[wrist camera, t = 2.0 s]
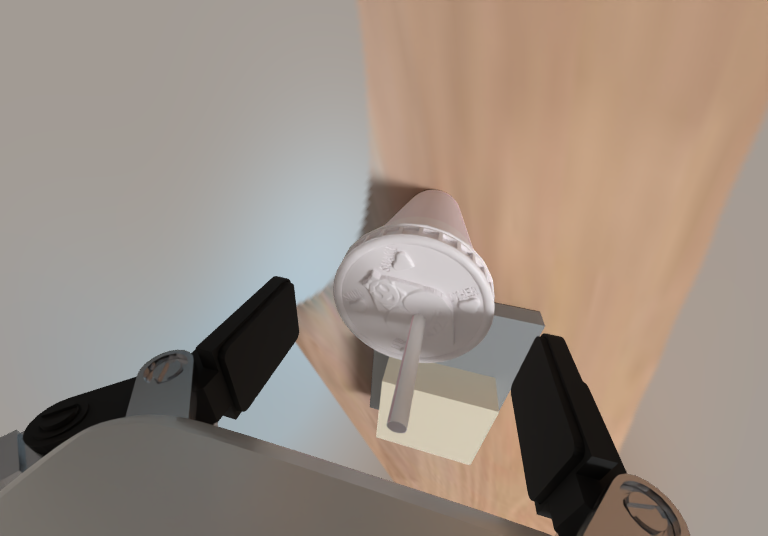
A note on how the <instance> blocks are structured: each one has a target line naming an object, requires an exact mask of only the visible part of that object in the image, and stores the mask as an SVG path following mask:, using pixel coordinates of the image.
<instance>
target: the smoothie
mask: <svg viewBox="0 0 768 536" xmlns="http://www.w3.org/2000/svg"><path fill="white" fill-rule="evenodd" d="M333 293H334V300H335V304H336V307H337V310H338V312H339V314H340V316H341V318H342V320H343V321H344V323H345V324H346V326H347V327H348V328H349V329H350V331H351V332H352V333H353V334H354V335H355V336H356V337H357V338H359V339H360V340H361V341H362V342H363V343H365V344H366V345H368V346H369V347H371V348H373V349H374V350H376V351H378V352H380V353H382V354H384V355H387V356H389V357H392V358H395V359H399V360H402V361H401V365H400V369H399V374H398V378H397V382H396V386H395V390H394V395H393V399H392V403H391V407H390V412H389V416H388V420H387V424H386V425H387V427H388V429H390V430H391V431H393V432H395V433H405V432H406V431H407V427H408V421H409V416H410V410H411V404H412V398H413V392H414V386H415V381H416V375H417V369H418V363H434V362H443V361H446V360H450V359H454V358H456V357H459V356H461V355H463V354H465V353H467V352H469V351H470V350H472V349H473V348H474V347H476V346H477V345H478V344H479V343H480V342H481V341H482V340H483V339H484V337H485V336H486V335H487V333H488V331H489V330H490V327H491V325H492V322H493V318H494V312H495V304H494V298H495V297H494V287H493V279H492V277H491V275H490V273H489V270H488V268H487V266H486V264H485V262H484V260H483V259H482V258H481V257H480V256H479V255H478V254H477V253H476V252H475V250H474V249H473V247H472V244H471V241H470V238H469V235H468V232H467V229H466V226H465V223H464V220H463V217H462V214H461V211H460V208H459V206H458V204H457V202H456V201H455V199H454V198H453V197H452V196H450V195H449V194H447V193H445V192H443V191H440V190H426V191H423V192H420V193H419V194H417V195H416V196H414V197H413V198H412V199H411V200H410V201H409V202H408V203H407V204H406V205H405V206H404V207H403V208H402V209H401V210H400V211H399V212H398V213H396V214H395V215H394V216H393V217H392V218H391V219H390V220H389V221H388V222H387V223H386V224H385V225H384V226H381V227H379V228H377V229H375V230H373V231H371V232H369V233H367V234H365V235H363V236H362V237H361V238H360V239H359V240H357V241H356V242H355V243H354V244H353V245H352V246H351V247H350V248H349V250H348V252H347V253H346V255H345V257H344V259H343V261H342V263H341V265H340V266H339V268H338V270H337V273H336V275H335V279H334V286H333Z"/></svg>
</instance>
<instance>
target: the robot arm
mask: <svg viewBox="0 0 768 536" xmlns="http://www.w3.org/2000/svg"><path fill="white" fill-rule="evenodd" d="M298 335H299V326H298V317H297V309H296V300H295V291H294V285H293V284H292V283H291V282H290V280H289V279H287V278H282V277H277V276H275V277H273V278H272V279H270V280H269V281H268V282H267V283H266V284H265V285H264V286H263V287H262V288H261V289H259V290H258V291H257V292H256V293H255V294H254V295H253V296H252V297H251V298H250V299H249V300H247V301H246V302H245V303H244V304H243V305H242V306H241V307H240V308H239V309H237V310H236V311H235V312H234V313H233V314H232V315H231V316H230V317H229V318H228V319H227V320H225V321H224V322H223V323H222V324H221V325H220V326H219V327H218V328H217V329H216V330H214V331H213V332H212V333H211V334H210V335H209V336H208V337H207V338H206V339H205V340H203V341H202V342H201V343H200V344H199V345H198V346H197V347H196V349H195V350H194V351H193V352H192V353H190V352H187V351H185V350H173V351H168V352H165V353H162V354H160V355H158V356H156V357H154V358H153V359H151V360H150V361H148V362H147V363H146V364H145V365H144V366H143V367H142V368H141V369H140V371H139V373H138V375H137V377H134V378H131V379H128V380H125V381H122V382H118V383H115V384H112V385H109V386H106V387H103V388H100V389H96V390H93V391H90V392H87V393H84V394H81V395H77V396H74V397H71V398H68V399H66V400H63V401H60V402H58V403H56V404H55V405H53V406H51V407H49V408H47V409H46V410H45V411H43V412H42V413H40V414H39V415H38V416H37V417H36V418H35V419H34V420H33V421H32V422H31V423H30V424H29V425H28V427H27V428H26V430H25V431H23V432H21V433H20V432H19V431H17V430H15V431H13V432H11V433H9V434H7V435H5V436H3V437H0V536H551V535H549V534H546V533H544V532H541V531H538V530H535V529H532V528H529V527H527V526H524V525H521V524H518V523H515V522H512V521H509V520H506V519H503V518H501V517H498V516H495V515H492V514H489V513H486V512H483V511H480V510H477V509H474V508H471V507H468V506H465V505H462V504H459V503H456V502H453V501H450V500H447V499H444V498H440V497H437V496H434V495H431V494H428V493H425V492H422V491H419V490H416V489H413V488H410V487H407V486H404V485H401V484H398V483H395V482H391V481H388V480H385V479H382V478H379V477H376V476H373V475H369V474H366V473H364V472H360V471H357V470H354V469H351V468H348V467H345V466H342V465H339V464H336V463H332V462H329V461H326V460H323V459H320V458H317V457H314V456H311V455H307V454H304V453H301V452H298V451H295V450H291V449H288V448H285V447H282V446H279V445H276V444H273V443H269V442H266V441H263V440H260V439H257V438H254V437H251V436H247V435H244V434H241V433H238V432H234V431H231V430H227V429H224V428H221V427H218V421H219V420H220V419H221V417H222V416H226V417H229V418H232V419H237V418H238V416H239V415H240V413H241V412H242V411H243V412H244V411H246V410H247V409H248V408H249V407H250V405H251V404H252V402H253V401H254V399H255V398H256V397H257V395H258V394H259V392H260V391H261V390H262V388H263V387H264V385H265V384H266V383H267V381H268V380H269V378H270V377H271V375H272V374H273V372H274V371H275V370H276V368H277V367H278V365H279V364H280V363H281V361H282V360H283V358H284V357H285V356H286V354H287V353H288V351H289V350H290V348H291V347H292V345H293V344H294V343H295V341H296V340H297V338H298ZM511 396H512V402H513V408H514V414H515V420H516V426H517V432H518V437H519V443H520V449H521V455H522V461H523V467H524V473H525V479H526V485H527V491H528V495H529V498H530V499H531V500H532V501H535V506H536V512H537V514H538V515H541V516H544V517H547V518H551V519H552V522H553V526H554V530H555V531H556V532H557V533H556V534H555V536H690V533H689V530H688V527H687V524H686V522H685V520H684V519H683V517H682V515H681V513H680V512H679V510H678V509H677V508H676V506H675V505H674V504H673V503H672V502H671V500H670V499H669V498H668V497H667V496H666V495H665V494H663V493H662V492H661V491H660V490H659V489H658V488H656V487H655V486H654V485H652V484H651V483H649V482H648V481H646V480H644V479H642V478H640V477H638V476H636V475H631V474H627V473H626V470H625V468H624V466H623V463H622V461H621V459H620V457H619V454H618V452H617V450H616V448H615V446H614V443H613V441H612V439H611V437H610V434H609V432H608V430H607V428H606V425H605V423H604V421H603V419H602V416H601V414H600V412H599V410H598V407H597V405H596V403H595V401H594V399H593V396H592V394H591V392H590V390H589V388H588V386H587V384H586V383H584V382H583V381H582V379H581V377H580V374H579V372H578V370H577V367H576V365H575V363H574V361H573V358H572V356H571V354H570V351H569V349H568V347H567V344H566V342H565V340H564V338H562V337H559V336H555V335H550V334H542V335H541V337H539V336H537V337H536V338H535V339H534V341H533V343H532V345H531V347H530V349H529V351H528V353H527V355H526V357H525V359H524V361H523V363H522V365H521V367H520V369H519V371H518V373H517V375H516V377H515V379H514V381H513V383H512V386H511Z"/></svg>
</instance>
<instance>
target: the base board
mask: <svg viewBox="0 0 768 536" xmlns="http://www.w3.org/2000/svg"><path fill="white" fill-rule="evenodd" d="M494 304H495V312H494V318H493V322H492V325H491V327H490V330H489V331H488V333H487V335H486V336H485V337H484V339H483V340H482V341H481V342H480V343H479V344H478V345H477V346H476V347H474V348H473V349H472V350H470V351H469V352H467V353H465V354H463V355H461V356H459V357H456V358H454V359H450V360H446V361H443V362H434V363H418V369H417V375H416V381H415V386H414V392H413V398H412V404H411V410H410V416H409V421H408V427H407V431H406V432H405V433H395V432H393V431H391V430H390V429H388V427H387V425H386V424H387V420H388V416H389V412H390V407H391V403H392V399H393V395H394V390H395V386H396V382H397V378H398V374H399V369H400V365H401V361H402V360H399V359H395V358H392V357H389V356H387V355H384V354H382V353H380V352H378V351H376V350H374V357H373V371H372V384H371V398H370V407H371V408H374V409H378V410H379V415H378V424H377V434H376V437H377V438H381V439H384V440H387V441H391V442H394V443H397V444H401V445H404V446H407V447H411V448H414V449H417V450H421V451H424V452H427V453H431V454H434V455H437V456H441V457H444V458H447V459H451V460H454V461H457V462H461V463H464V464H467V465H470V464H471V463H472V461H473V459H474V457H475V455H476V453H477V452H478V450H479V448H480V446H481V444H482V442H483V441H484V439H485V437H486V435H487V433H488V431H489V430H490V428H491V426H492V424H493V422H494V420H495V419H496V417H497V415H498V413H499V410H500V408H501V406H502V404H503V402H504V401H505V399H506V397H507V395H508V393H509V391H510V390H511V386H512V383H513V381H514V379H515V377H516V375H517V373H518V371H519V369H520V367H521V365H522V363H523V361H524V359H525V357H526V355H527V353H528V351H529V349H530V347H531V345H532V343H533V341H534V339H535V338H536V337H537V336H540V334H541V332H542V331H543V329H544V327H545V325H544V322H543V319H542V316H541V313H540V312H538V311H533V310H528V309H523V308H518V307H513V306H508V305H503V304H498V303H494Z"/></svg>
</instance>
